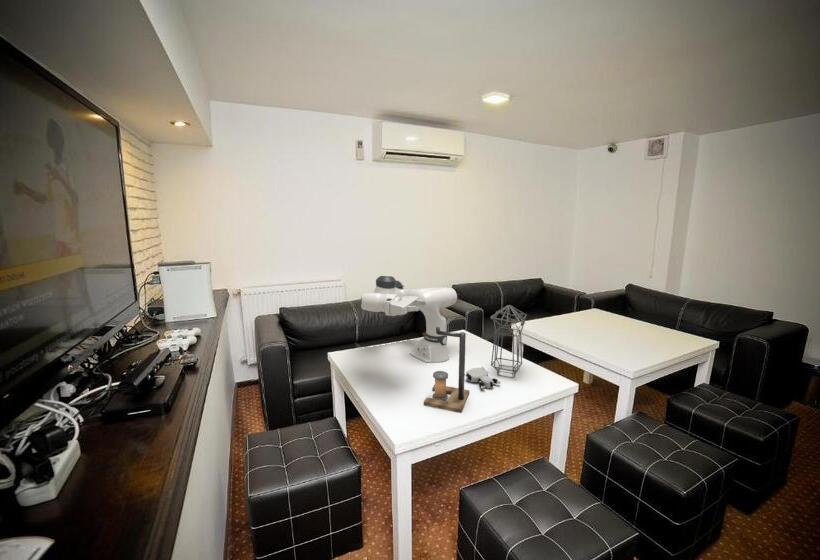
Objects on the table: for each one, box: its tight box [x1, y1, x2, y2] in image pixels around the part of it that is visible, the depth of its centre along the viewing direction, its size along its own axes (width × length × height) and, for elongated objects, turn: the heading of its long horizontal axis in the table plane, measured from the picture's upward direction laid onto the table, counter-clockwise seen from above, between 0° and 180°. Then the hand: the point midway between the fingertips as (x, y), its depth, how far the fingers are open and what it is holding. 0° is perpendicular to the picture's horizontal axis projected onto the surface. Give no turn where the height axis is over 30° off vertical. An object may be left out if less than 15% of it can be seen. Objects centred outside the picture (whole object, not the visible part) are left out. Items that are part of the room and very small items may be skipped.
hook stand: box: [436, 327, 467, 400], centre depth 140 cm, size 12×2×30 cm, turn 69°
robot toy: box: [464, 366, 501, 390], centre depth 157 cm, size 12×4×15 cm
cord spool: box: [432, 370, 449, 401], centre depth 144 cm, size 6×6×11 cm
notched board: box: [423, 384, 470, 414], centre depth 144 cm, size 16×16×2 cm
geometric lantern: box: [489, 304, 528, 379], centre depth 164 cm, size 16×16×35 cm
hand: (422, 306), depth 146 cm, fingers open, 8 cm apart
